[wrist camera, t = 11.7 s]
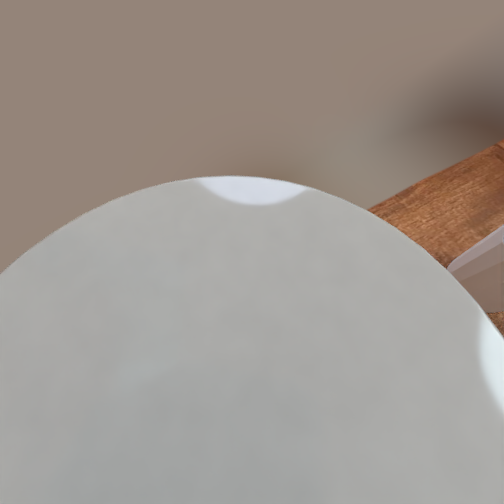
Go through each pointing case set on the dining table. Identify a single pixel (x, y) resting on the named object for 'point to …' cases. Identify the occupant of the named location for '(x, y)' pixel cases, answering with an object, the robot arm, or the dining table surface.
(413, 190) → the dining table surface
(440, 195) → the dining table surface
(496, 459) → the white cylinder
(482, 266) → the faceted white cup
